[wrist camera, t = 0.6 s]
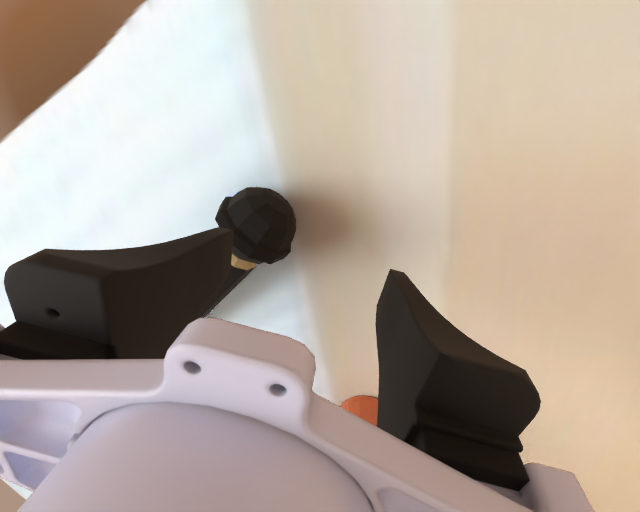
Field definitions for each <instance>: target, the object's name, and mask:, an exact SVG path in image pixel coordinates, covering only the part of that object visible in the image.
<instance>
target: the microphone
mask: <svg viewBox="0 0 640 512" xmlns="http://www.w3.org/2000/svg"><path fill="white" fill-rule="evenodd" d="M215 220H216V221H217V223H218V225H219V227H222V228H226V229H230V230H234V233H233V247H232V260H231V269H230V271H229V273H228V275H227V277H226V279H225V280H224V282H223V284H222V285H221V287H220V288H219V289H218V290H217V292H216V293H215V294H214V295H213V297H212V298H211V299H210V300H209V302H208V303H207V304H206V305H205V307H204V308H203V309H202V310H201V312H200V313H199V314H198V315H197V317H196V318H195V319H194V320H193V321H195V320H197V319H199V318H204V317H205V316H206V315H207V314H208V313H209V312H210V311H211V310H212V309H213V308H214V307H215V306H216V305H217V304H218V303H219V302H220V301H221V300H222V299H223V298H224V297H225V296H226V295H227V294H228V293H229V292H230V291H231V290H233V289H234V288H235V287H236V286H237V285H238V284H239V283H240V282H241V281H242V280H243V279H244V278H245V277H246V276H247V275H248V274H249V273H250V272H251V271H252V270H253V269H254V268H255V267H256V264H261V263H268V264H272V263H275V262H277V261H279V260H282V259H284V258H285V257H286V256H287V255H288V254H289V253H290V252H291V242H292V240H293V238H294V235H295V231H296V218H295V215H294V212H293V209H292V207H291V206H290V204H289V203H288V201H287V200H286V199H285V198H284V197H282V196H281V195H280V194H279V193H277V192H275V191H273V190H271V189H268V188H260V187H248V188H245V189H243V190H242V191H240V192H238V193H237V194H236V195H234V196H233V197H225V199H224V200H223V202H222V204H221V205H220V208H219V210H218V213H217V215H216V218H215Z"/></svg>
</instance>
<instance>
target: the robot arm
mask: <svg viewBox="0 0 640 512" xmlns="http://www.w3.org/2000/svg"><path fill="white" fill-rule="evenodd" d="M233 233H234V230H230V229H226V228H222V227H219V228H214V229H211V230H207V231H204V232H201V233H197V234H194V235H191V236H187V237H184V238H180V239H176V240H172V241H168V242H164V243H160V244H155V245H149V246H143V247H135V248H125V249H115V250H58V249H44V250H42V251H40V252H37V253H35V254H33V255H31V256H29V257H27V258H25V259H23V260H21V261H19V262H16V263H15V264H13V265H11V266H9V268H8V269H7V271H6V272H5V278H4V285H5V290H6V293H7V296H8V299H9V302H10V305H11V308H12V310H13V313H14V316H15V319H16V322H15V323H13V324H11V325H10V326H8V327H7V328H4V327H3V326H2V325H1V324H0V477H1V478H3V479H5V480H8V481H10V482H12V483H15V484H17V485H19V486H21V487H24V488H26V489H28V490H31V491H33V493H32V494H31V496H30V497H29V498H28V499H27V500H26V502H25V503H24V504H23V505H22V506H21V507H20V509H19V510H18V511H17V512H594V510H593V508H592V506H591V505H590V503H589V501H588V499H587V497H586V495H585V493H584V492H583V490H582V488H581V486H580V484H579V482H578V481H577V479H576V477H575V475H574V474H573V473H571V472H569V471H565V470H561V469H557V468H553V467H550V466H546V465H542V464H538V463H528V464H525V465H523V462H522V460H521V458H520V455H519V453H518V452H520V453H521V452H522V451H523V446H522V444H521V441H520V439H519V437H518V436H519V435H520V434H521V433H522V431H523V430H524V429H525V428H526V427H527V426H528V424H529V423H530V422H531V421H532V420H533V419H534V417H535V416H536V414H537V412H538V411H539V409H540V403H541V401H540V397H539V393H538V391H537V390H536V388H535V386H534V384H533V383H532V381H531V379H530V377H529V376H528V374H527V372H526V370H524V369H522V368H520V367H518V366H516V365H514V364H512V363H510V362H509V361H507V360H505V359H503V358H501V357H499V356H497V355H495V354H494V353H492V352H491V351H489V350H487V349H486V348H484V347H482V346H481V345H479V344H478V343H476V342H475V341H473V340H472V339H470V338H469V337H468V336H466V335H465V334H464V333H462V332H461V331H460V330H458V329H457V328H456V327H455V326H453V325H452V324H451V323H450V322H449V321H448V320H446V319H445V318H444V317H443V316H442V315H441V314H440V313H439V312H438V311H437V310H436V309H435V308H434V307H433V306H432V305H431V304H430V303H429V302H428V301H427V299H426V298H425V297H424V296H423V295H422V294H421V293H420V291H419V290H418V289H417V288H416V286H415V285H414V284H413V283H412V281H411V280H410V279H409V278H408V277H407V275H406V274H405V273H404V272H400V271H396V270H392V269H390V271H389V274H388V276H387V279H386V282H385V285H384V287H383V290H382V293H381V296H380V298H379V301H378V304H377V311H376V336H377V348H378V361H379V394H378V413H377V427H376V426H374V425H372V424H370V423H369V422H367V421H365V420H363V419H361V418H359V417H358V416H356V415H354V414H352V413H350V412H348V411H347V410H345V409H343V408H341V407H339V406H337V405H336V404H334V403H332V402H330V401H328V400H326V399H325V398H323V397H321V396H319V395H317V394H315V393H314V392H313V390H312V385H313V380H314V375H315V370H316V368H315V357H314V355H313V354H312V353H311V352H310V350H309V349H308V348H307V347H306V346H305V345H304V344H302V343H300V342H298V341H296V340H294V339H292V338H290V337H287V336H283V335H279V334H275V333H271V332H267V331H264V330H260V329H256V328H252V327H248V326H244V325H240V324H236V323H232V322H228V321H224V320H221V319H217V318H199V319H197V320H195V321H193V320H194V319H195V318H196V317H197V315H198V314H199V313H200V312H201V310H202V309H203V308H204V307H205V305H206V304H207V303H208V302H209V300H210V299H211V298H212V297H213V295H214V294H215V293H216V292H217V290H218V289H219V288H220V287H221V285H222V284H223V282H224V280H225V279H226V277H227V275H228V273H229V271H230V269H231V260H232V247H233Z"/></svg>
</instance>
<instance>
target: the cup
mask: <svg viewBox="0 0 640 512" xmlns="http://www.w3.org/2000/svg"><path fill="white" fill-rule="evenodd" d="M340 407H341V408H343V409H345V410H347V411H348V412H350V413H352V414H354V415H356V416H358V417H359V418H361V419H363V420H365V421H367V422H369V423H370V424H372V425H374V426H376V427H377V413H378V399H377V398H374V397H370V396H356V397H352V398H350V399H348V400H346V401H345V402H343V403H342V404H341V406H340Z"/></svg>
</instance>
